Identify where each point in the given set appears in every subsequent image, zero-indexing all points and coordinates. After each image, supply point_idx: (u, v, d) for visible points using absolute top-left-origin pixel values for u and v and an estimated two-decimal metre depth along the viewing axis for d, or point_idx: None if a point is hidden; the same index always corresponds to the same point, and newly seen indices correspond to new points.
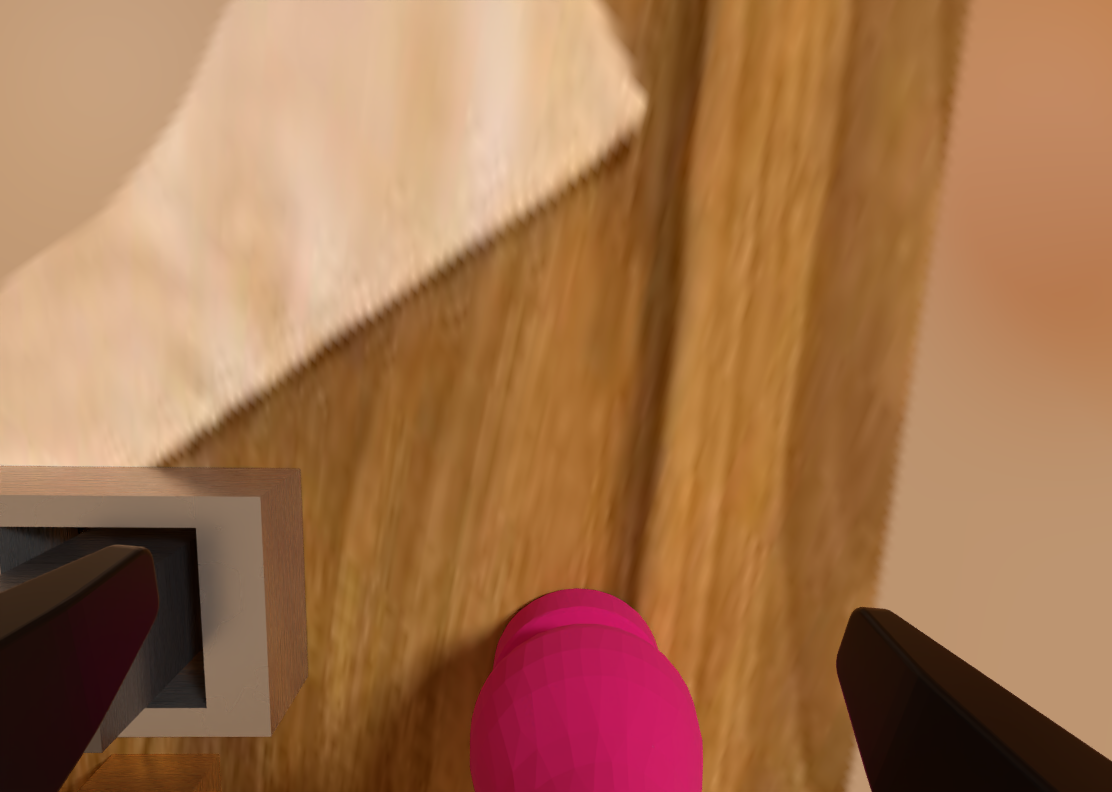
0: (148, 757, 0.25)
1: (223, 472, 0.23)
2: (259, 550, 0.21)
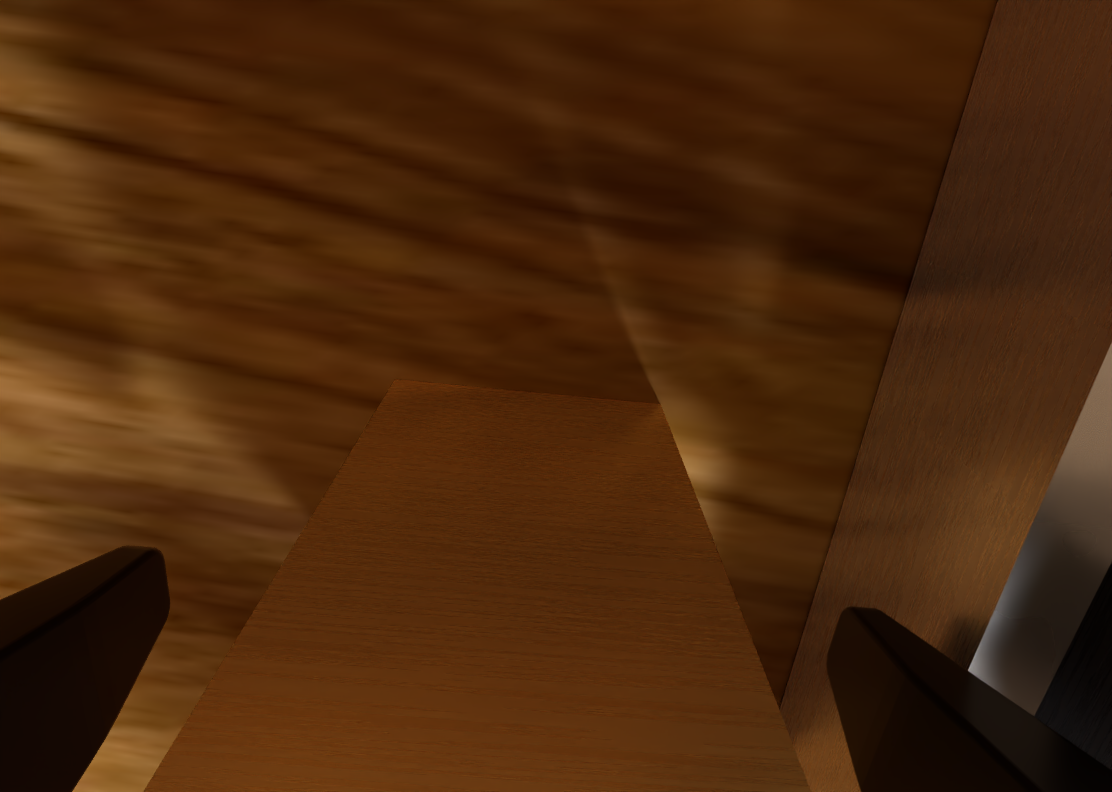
0: None
1: None
2: None
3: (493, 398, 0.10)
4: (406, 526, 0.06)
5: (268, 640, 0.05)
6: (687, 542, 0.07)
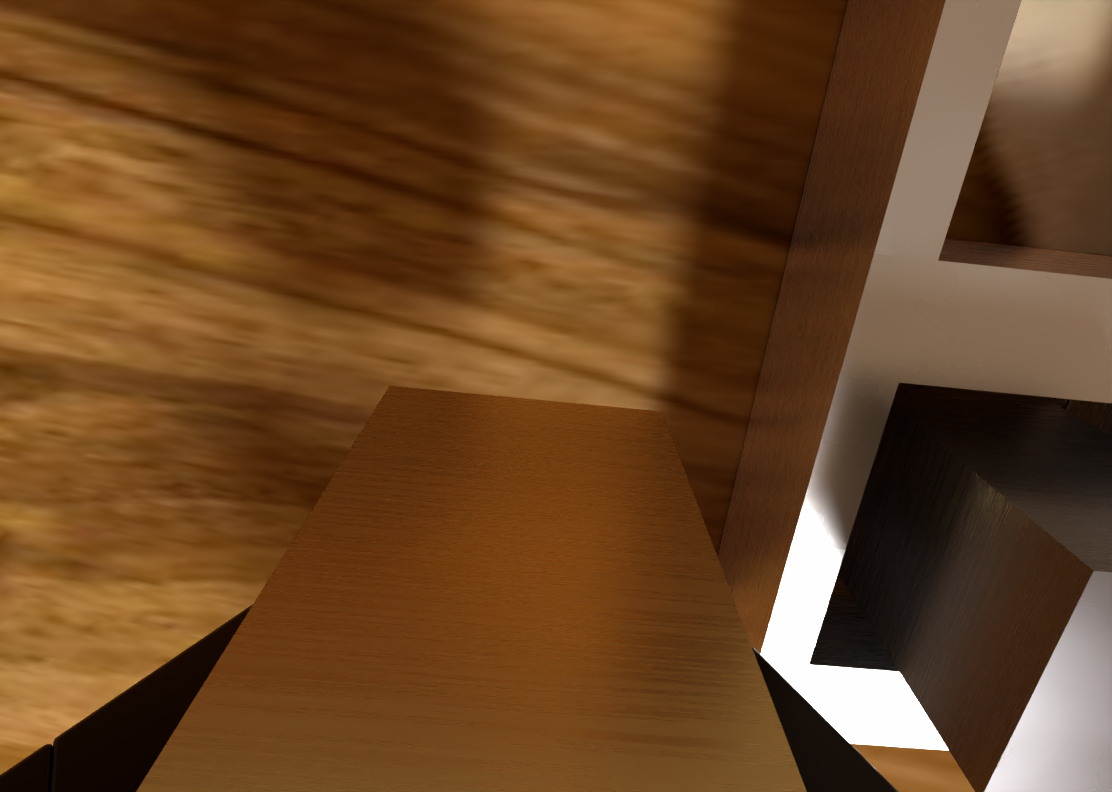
0: None
1: None
2: None
3: (490, 406, 0.09)
4: (398, 543, 0.06)
5: (248, 668, 0.05)
6: (690, 559, 0.06)
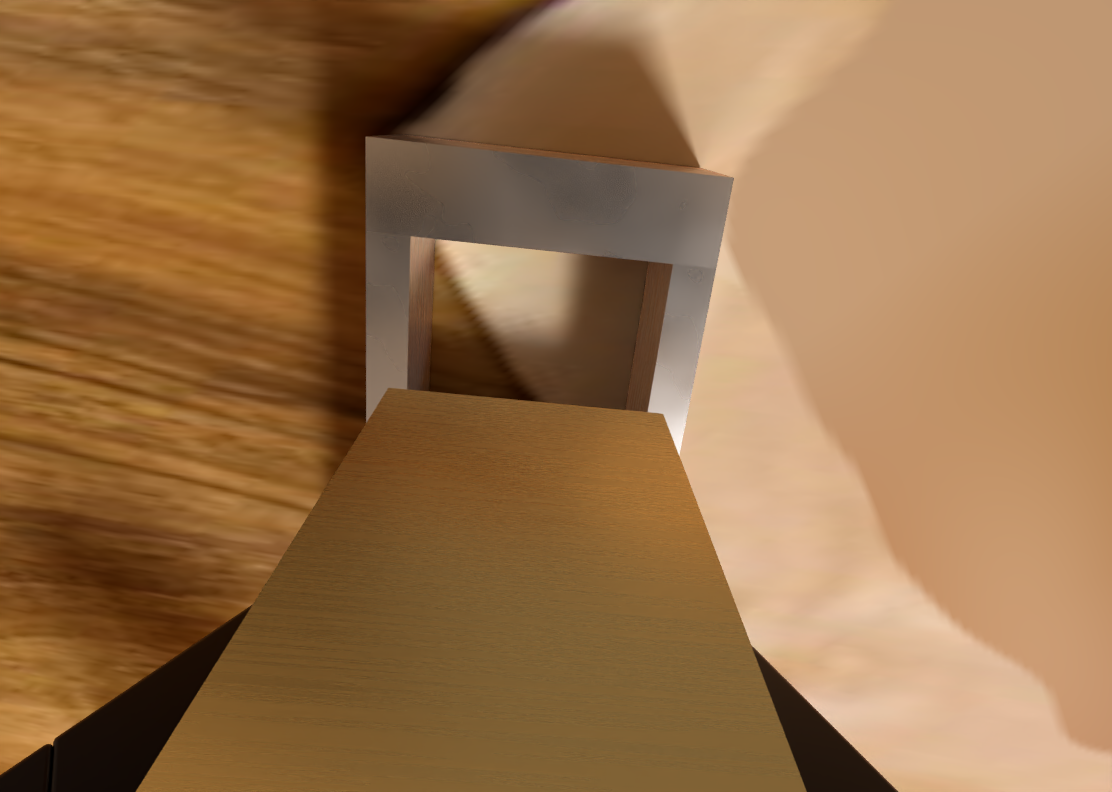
0: None
1: None
2: None
3: (490, 408, 0.09)
4: (396, 547, 0.06)
5: (242, 676, 0.05)
6: (692, 564, 0.06)
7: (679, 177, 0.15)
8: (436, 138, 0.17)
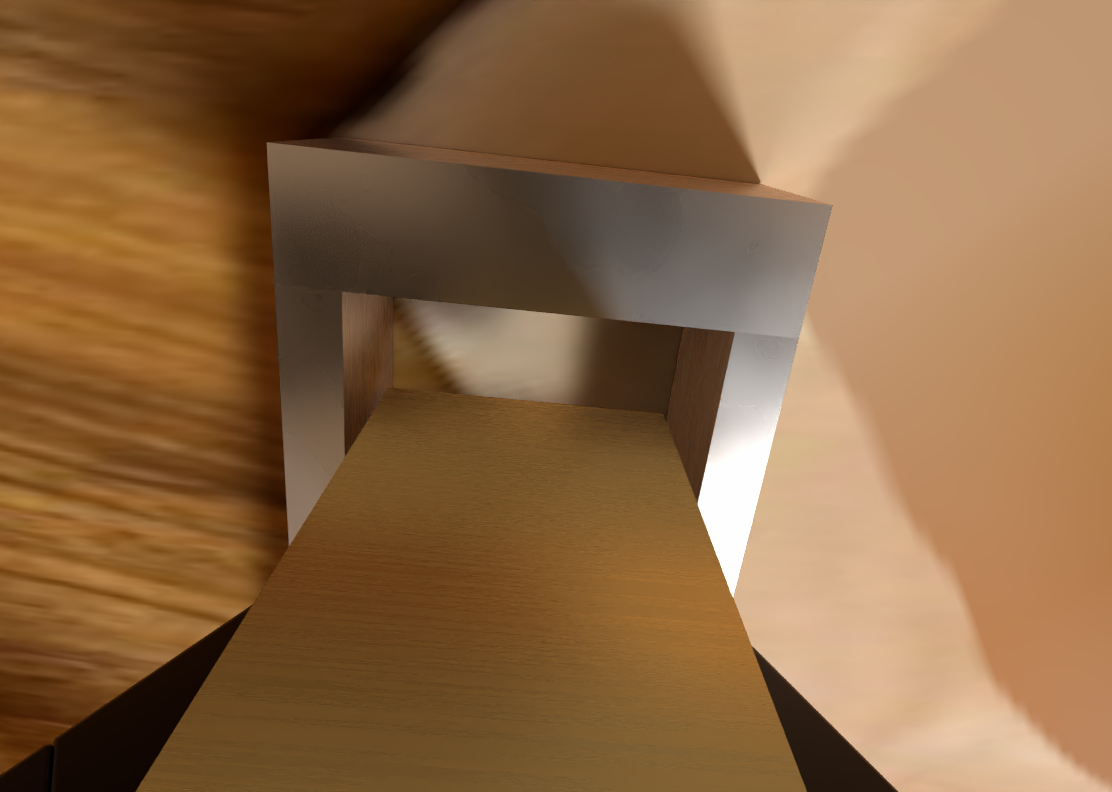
0: None
1: None
2: None
3: (490, 408, 0.09)
4: (396, 547, 0.06)
5: (242, 676, 0.05)
6: (692, 564, 0.06)
7: (748, 205, 0.10)
8: (391, 143, 0.12)
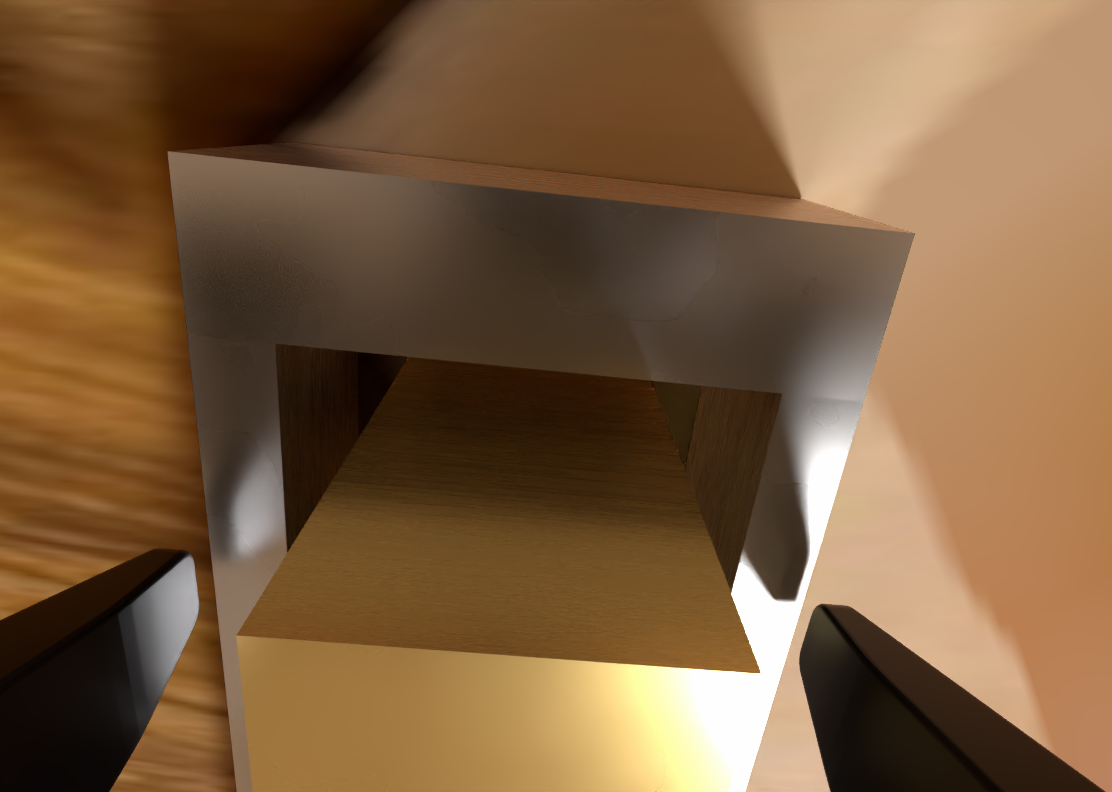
0: None
1: None
2: None
3: None
4: (432, 450, 0.08)
5: (333, 519, 0.06)
6: (660, 464, 0.08)
7: (805, 232, 0.07)
8: (351, 149, 0.10)
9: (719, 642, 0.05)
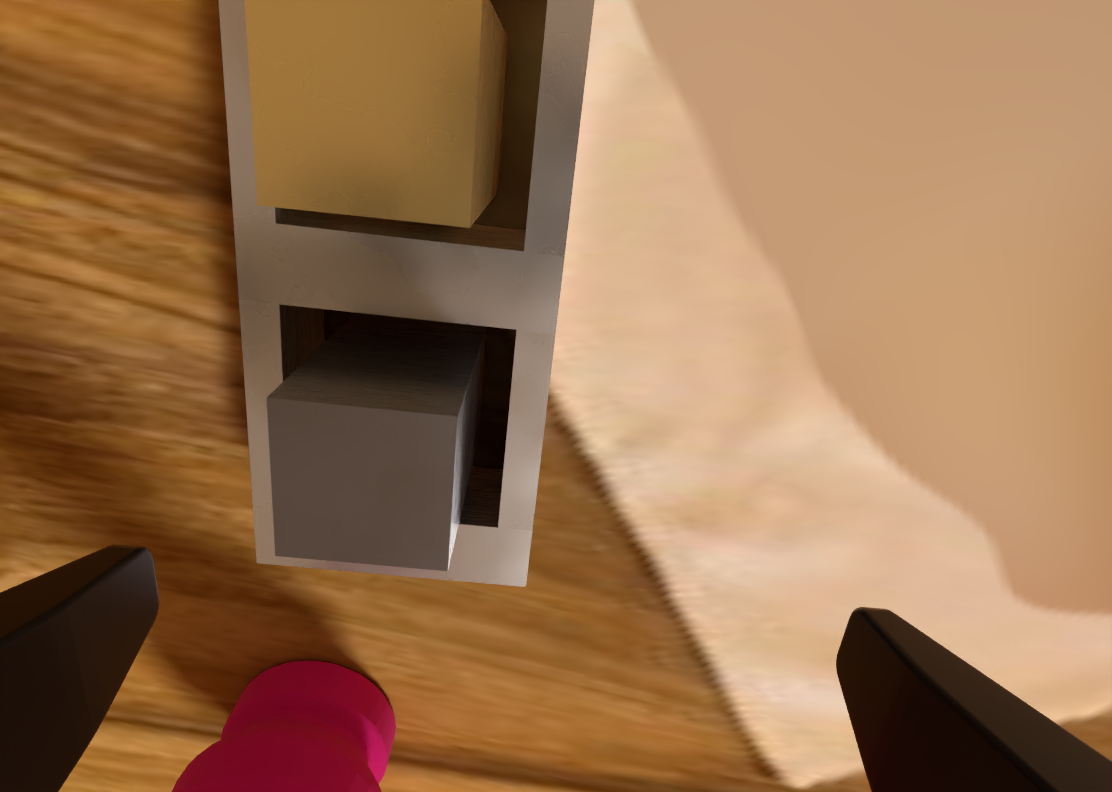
0: (502, 96, 0.18)
1: None
2: (468, 578, 0.20)
3: None
4: None
5: None
6: None
7: None
8: None
9: None
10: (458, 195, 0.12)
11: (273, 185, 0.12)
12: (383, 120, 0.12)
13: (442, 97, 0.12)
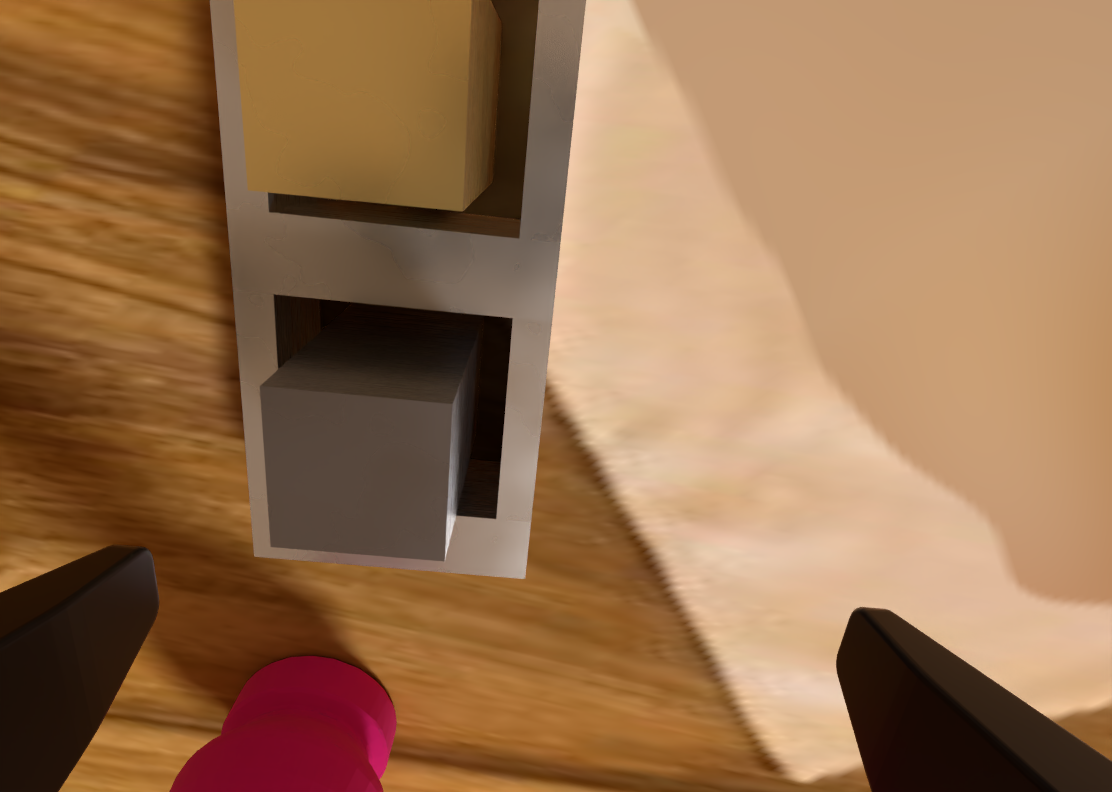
0: (497, 83, 0.18)
1: None
2: (467, 571, 0.20)
3: None
4: None
5: None
6: None
7: None
8: None
9: None
10: (450, 178, 0.12)
11: (263, 169, 0.12)
12: (373, 102, 0.12)
13: (433, 78, 0.12)
